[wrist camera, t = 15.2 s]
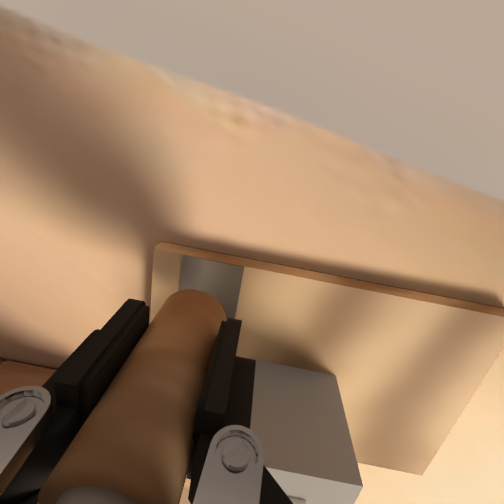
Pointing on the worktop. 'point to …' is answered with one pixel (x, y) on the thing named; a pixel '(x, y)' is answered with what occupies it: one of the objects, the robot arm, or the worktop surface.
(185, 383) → the grey-capped wooden cylinder
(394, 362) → the panel
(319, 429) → the block
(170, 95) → the worktop surface
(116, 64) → the worktop surface
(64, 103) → the worktop surface
